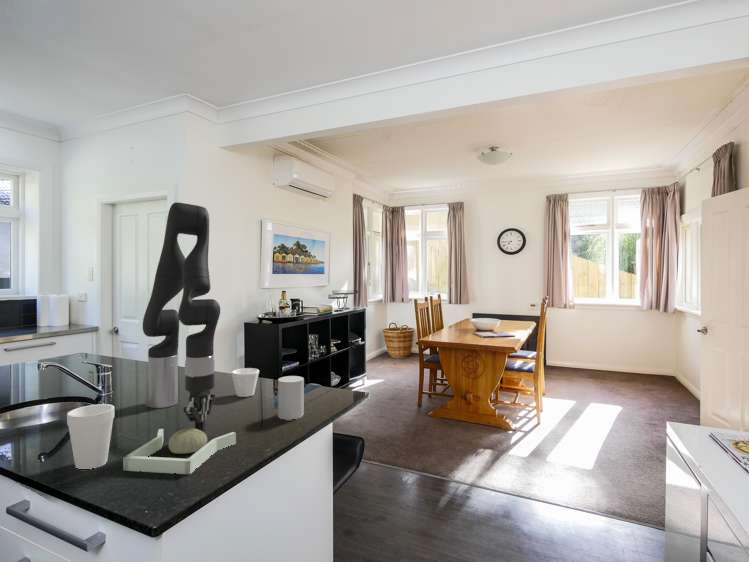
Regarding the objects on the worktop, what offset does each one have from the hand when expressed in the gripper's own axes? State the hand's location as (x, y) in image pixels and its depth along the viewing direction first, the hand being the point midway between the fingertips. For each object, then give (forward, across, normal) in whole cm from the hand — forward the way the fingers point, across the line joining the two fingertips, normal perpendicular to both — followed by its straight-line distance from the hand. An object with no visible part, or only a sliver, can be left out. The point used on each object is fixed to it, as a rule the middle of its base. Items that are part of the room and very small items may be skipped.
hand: (200, 433), depth 115 cm
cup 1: (+2, -42, -5) cm, 42 cm away
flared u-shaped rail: (+2, +10, 0) cm, 10 cm away
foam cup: (+2, +17, -18) cm, 25 cm away
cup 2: (+2, -22, +19) cm, 29 cm away
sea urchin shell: (+2, +6, 0) cm, 6 cm away
